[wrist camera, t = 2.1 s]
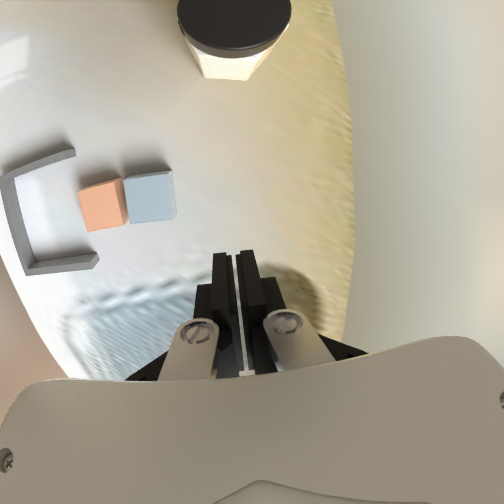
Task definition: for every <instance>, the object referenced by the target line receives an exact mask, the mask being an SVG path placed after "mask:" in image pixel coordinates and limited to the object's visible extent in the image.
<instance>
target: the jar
mask: <svg viewBox="0 0 504 504" xmlns="http://www.w3.org/2000/svg"><path fill="white" fill-rule="evenodd" d="M290 17H291V2H290V0H179V1H178V6H177V20H178V23H179V26H180V29H181V31H182V33H183V35H184V37H185V40H186V42H187V45H188V47H189V49H190V51H191V53H192V55H193V57H194V59H195V60H196V62H197V64H198V66H199V68H200V70H201V72H202V74H203V76H204V77H205V78H218V79H234V80H248V79H249V77H250V76H251V75H252V74H253V72H254V71H255V70H256V69H257V68H258V66H259V65H260V64H261V63H262V62H263V61H264V59H265V58H266V57H267V56H268V55H269V54H270V52H271V51H272V49H273V48H274V46H275V45H276V43H277V42H278V41H279V39H280V38H281V36H282V35H283V33H284V32H285V31H286V29H287V28H288V26H289V21H290Z"/></svg>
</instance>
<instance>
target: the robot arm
mask: <svg viewBox="0 0 504 504" xmlns="http://www.w3.org/2000/svg"><path fill="white" fill-rule="evenodd" d="M236 265H237V274H238V283H239V293H240V302H241V311H242V319H243V327H244V335H245V343H246V351H247V359H248V366H249V370H255V375H250V376H241V377H239V371H244V363H243V354H242V345H241V336H240V327H239V317H238V308H237V300H236V291H235V283H234V274H233V265H232V256H231V255H228V256H227V255H226V252H224V253H215V254H213V269H212V284H202V285H197V291H196V299H195V308H194V316H193V319H192V320H188V321H187V322H185V323H183V324H182V325H180V326H179V327H178V329H177V331H176V333H175V335H174V338H173V340H172V343H171V346H170V348H169V350H168V351H167V352H165V353H164V354H162V355H161V356H159V357H158V358H156V359H155V360H153V361H152V362H150V363H149V364H147V365H146V366H144V367H143V368H141V369H140V370H138V371H137V372H135V373H134V374H132V375H131V376H129V377H128V378H127V379H126V380H125V381H117V380H96V379H77V378H60V379H51V380H45V381H41V382H37V383H34V384H31V385H29V386H27V387H25V388H24V389H23V390H21V392H20V393H19V394H18V395H17V397H16V398H15V400H14V401H13V403H12V405H11V406H10V408H9V410H8V412H7V414H6V416H5V418H4V420H3V422H2V425H1V427H0V504H504V369H503V367H502V366H501V365H500V364H499V363H498V362H497V360H496V359H495V358H494V357H493V356H492V355H491V354H490V353H489V352H488V351H487V350H486V349H485V348H484V347H482V346H481V345H480V344H479V343H477V342H476V341H474V340H472V339H469V338H466V337H458V336H441V337H433V338H428V339H423V340H418V341H414V342H411V343H408V344H404V345H400V346H396V347H392V348H388V349H385V350H382V351H378V352H374V353H370V354H368V353H366V352H364V351H362V350H359V349H357V348H354V347H351V346H348V345H345V344H343V343H340V342H338V341H335V340H332V339H330V338H327V337H324V336H322V335H319V334H317V333H316V331H315V330H314V328H313V327H312V325H311V324H310V322H309V321H308V320H307V318H306V317H305V316H304V315H303V314H302V313H300V312H298V311H295V310H291V309H286V306H285V303H284V301H283V298H282V295H281V292H280V289H279V286H278V283H277V281H276V278H275V277H268V278H260V275H259V271H258V267H257V264H256V260H255V256H254V252H253V250H243V251H240V254H237V255H236Z"/></svg>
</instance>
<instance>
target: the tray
mask: <svg viewBox="0 0 504 504" xmlns="http://www.w3.org/2000/svg"><path fill="white" fill-rule="evenodd" d="M74 156H76V154H75V148H74V149H69V150H65V151H62V152H59V153H56V154H53V155H50V156H47V157H45V158H42V159H39V160H37V161H34V162H31V163H29V164H26V165H24V166H22V167H19V168H17V169H15V170H12V171H10V172H8V173H6V174H3V175H1V176H0V190H1V195H2V200H3V204H4V209H5V213H6V217H7V220H8V224H9V228H10V231H11V235H12V238H13V241H14V244H15V247H16V250H17V253H18V256H19V259H20V262H21V264H22V267H23V270H24V272H25V275H26V276H30V275H40V274H49V273H59V272H68V271H78V270H87V269H93V267H94V266H95V265H96V264H97V262H98V261H99V258H98V254H97V253H95V254H88V255H80V256H73V257H65V258H58V259H50V260H43V261H36V260H35V257H34V255H33V252H32V249H31V246H30V242H29V239H28V236H27V233H26V229H25V226H24V222H23V218H22V214H21V210H20V206H19V202H18V197H17V193H16V188H15V183H14V178H15V177H17V176H20V175H22V174H25V173H27V172H30V171H33V170H35V169H38V168H41V167H44V166H47V165H49V164H52V163H55V162H58V161H62V160H65V159H68V158H71V157H74Z"/></svg>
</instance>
